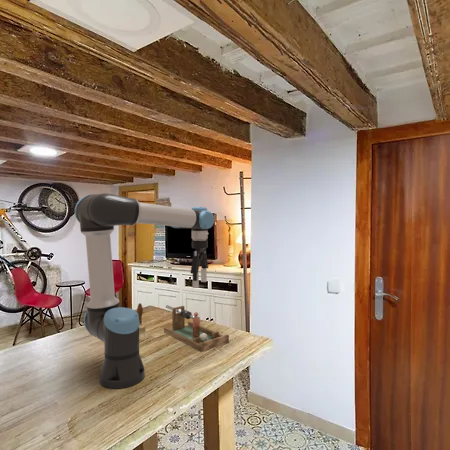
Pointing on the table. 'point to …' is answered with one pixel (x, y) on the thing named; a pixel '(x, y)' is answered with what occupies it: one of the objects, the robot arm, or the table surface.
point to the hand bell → (141, 327)
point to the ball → (203, 337)
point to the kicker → (189, 315)
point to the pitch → (186, 333)
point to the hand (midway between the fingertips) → (199, 284)
